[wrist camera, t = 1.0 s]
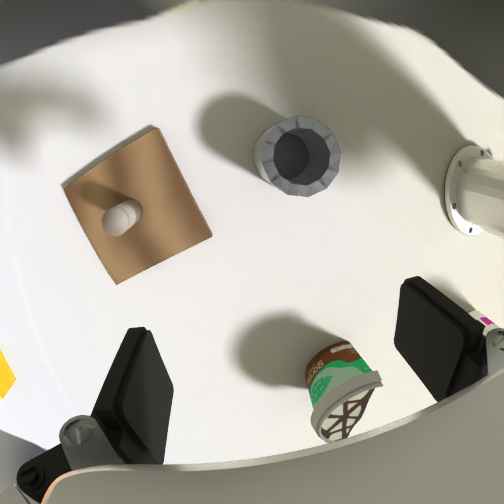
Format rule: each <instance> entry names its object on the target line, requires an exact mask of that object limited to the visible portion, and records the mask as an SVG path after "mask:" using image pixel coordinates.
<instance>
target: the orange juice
mask: <svg viewBox="0 0 504 504" xmlns="http://www.w3.org/2000/svg"><path fill="white" fill-rule="evenodd" d="M15 380H16V378H15V376H14V375H13V373H12V371H11V369H10V367H9V365H8V364H7V362H6V360H5V358H4V356H3V354H2V352H1V350H0V404H1V402H2V400H3V398H4V397H5V395H6V394H7V392H8V391H9V389H10V388H11V386H12V385H13V383H14V382H15Z"/></svg>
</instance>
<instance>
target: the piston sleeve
mask: <svg viewBox="0 0 504 504" xmlns="http://www.w3.org/2000/svg"><path fill="white" fill-rule="evenodd" d="M283 133H287V134H295V135H296V136H297V137H299V138H300V139H301V140H303V141H304V142H305V144H306V147H307V149H308V151H309V161H308V166H307V167H306V168H305V170H304V171H303V173H302V174H301V175H299V176H297V177H294V178H292V179H285V178H283V177H282V176H280V175H279V173H278V170H277V168H276V166H275V164H274V162H273V156H274V146H275V144H276V143H277V141H278V140H279V138H280V137H281V136H282V134H283ZM340 154H341V151H340V149H339V146H338V144H337V141H336V139H335V137H334V134H333V132H331V131H330V130H329V129H328V128H327V127H325V126H324V125H323V124H322V123H320V122H319V121H318V120H316V119H311V118H305V117H299V116H294V117H292V118H289V119H287V120H284V121H282V122H279V123H277V124H275V125H273V126H272V127H270V128H268V129H267V130H265V131H264V133H263V134H262V135H261V137H260V138H259V139H258V141H257V142H256V143H255V150H254V160H253V161H254V164H255V166H256V168H257V170H258V172H259V174H260V176H261V177H262V178H263V179H264V180H266V181H267V182H269V183H270V184H271V185H273V186H274V187H276V188H278V189H279V190H281V191H282V192H284V193H286V194H287V195H295V196H304V197H309V196H311V195H314V194H316V193H318V192H320V191H322V190H325V189H326V188H327V187H328V186H329V185H330V183H331V182H332V181H333V179H334V178H335V176H336V175H337V174H338V172H339V163H340Z"/></svg>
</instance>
